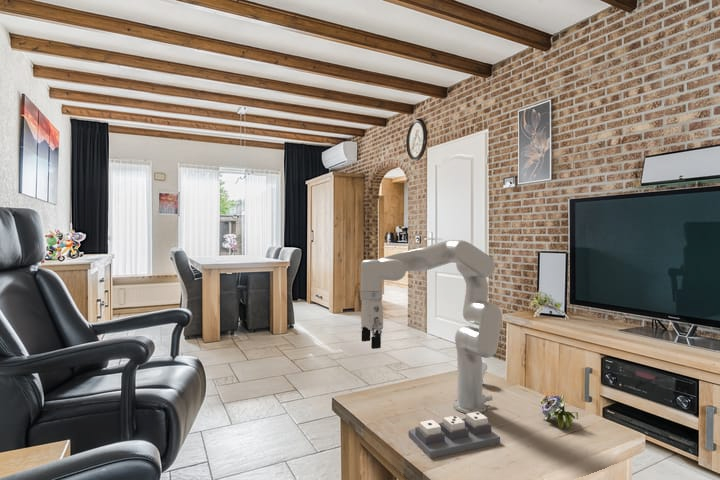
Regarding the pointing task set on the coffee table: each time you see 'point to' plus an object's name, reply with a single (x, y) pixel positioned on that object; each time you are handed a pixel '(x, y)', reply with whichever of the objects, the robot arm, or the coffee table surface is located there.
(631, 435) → the coffee table surface
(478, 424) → the two-dot tile
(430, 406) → the coffee table surface
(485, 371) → the light bulb
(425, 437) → the key board
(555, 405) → the passion flower
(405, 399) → the coffee table surface
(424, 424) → the one-dot tile
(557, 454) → the coffee table surface
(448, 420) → the three-dot tile
